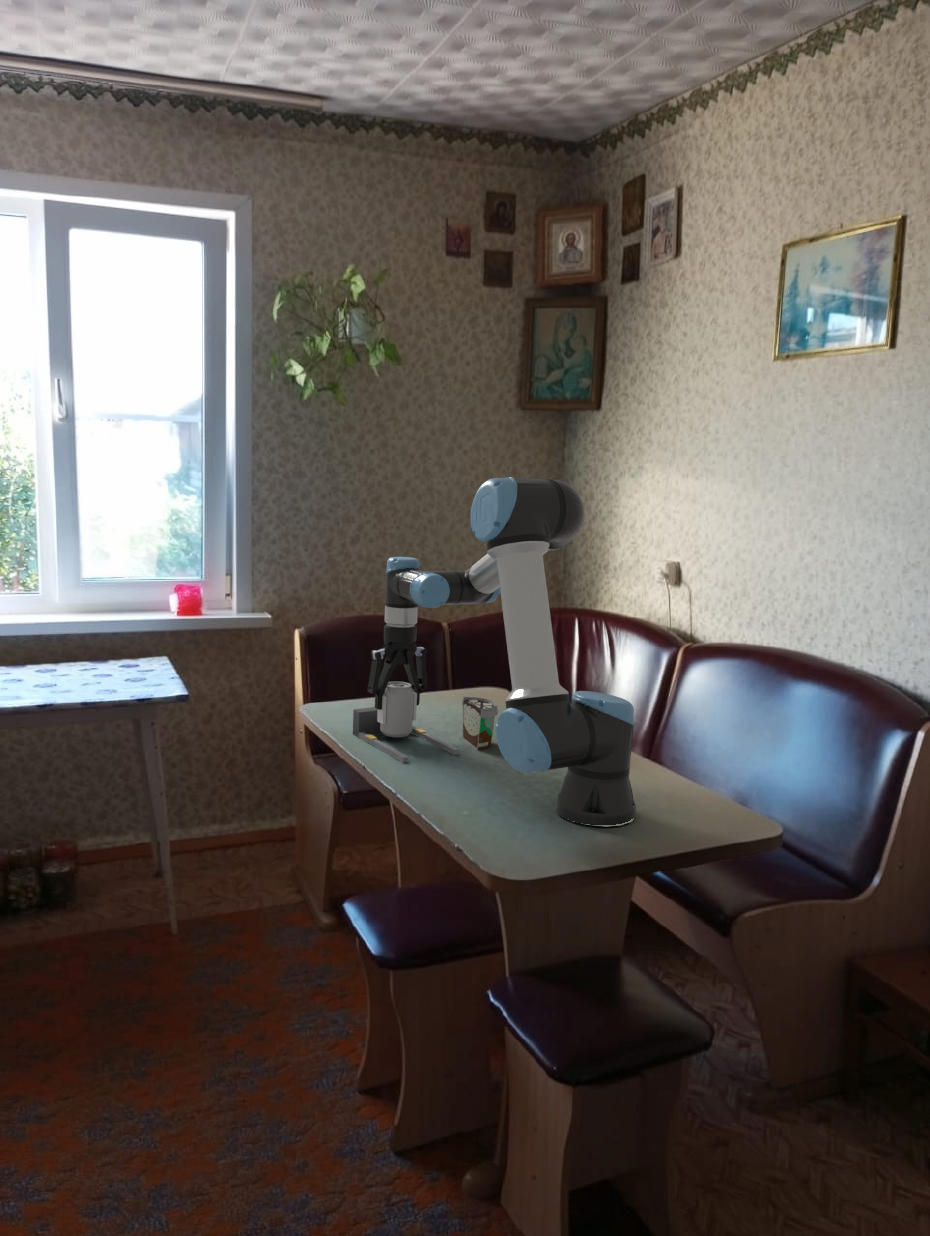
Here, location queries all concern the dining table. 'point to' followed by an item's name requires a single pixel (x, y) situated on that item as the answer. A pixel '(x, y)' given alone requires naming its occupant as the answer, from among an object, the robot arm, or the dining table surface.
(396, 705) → the can
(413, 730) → the guide channel
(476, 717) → the food container
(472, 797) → the dining table surface
